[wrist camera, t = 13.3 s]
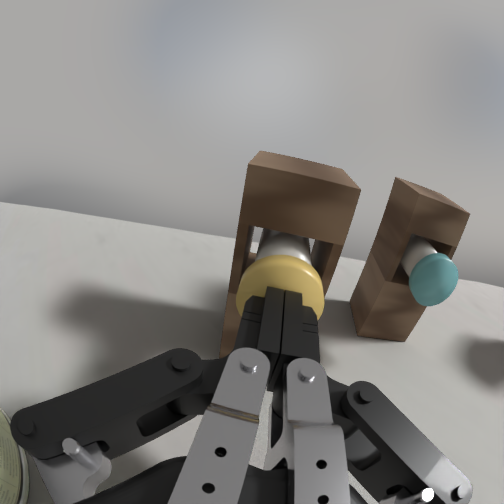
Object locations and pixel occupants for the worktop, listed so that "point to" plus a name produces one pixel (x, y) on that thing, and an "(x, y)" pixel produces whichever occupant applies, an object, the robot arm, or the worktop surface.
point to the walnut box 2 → (390, 253)
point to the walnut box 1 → (290, 218)
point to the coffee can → (12, 466)
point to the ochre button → (282, 270)
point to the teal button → (428, 272)
